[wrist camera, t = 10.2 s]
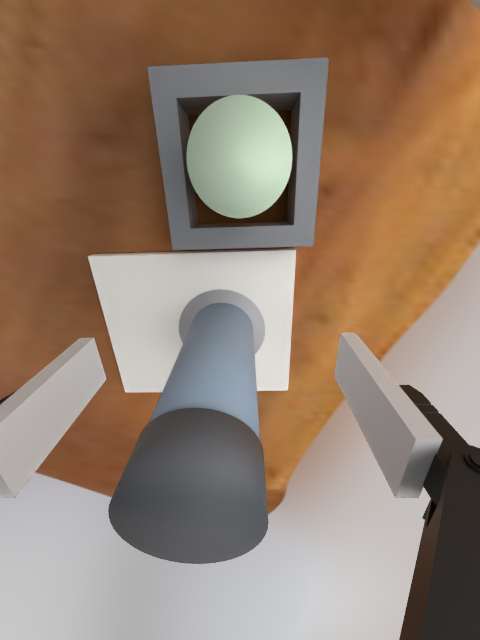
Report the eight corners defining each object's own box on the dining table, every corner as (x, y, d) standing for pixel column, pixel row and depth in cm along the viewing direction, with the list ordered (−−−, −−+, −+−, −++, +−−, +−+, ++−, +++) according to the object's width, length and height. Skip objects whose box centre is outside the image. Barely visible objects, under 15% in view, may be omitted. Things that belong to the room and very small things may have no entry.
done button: (193, 118, 11) (179, 97, 9) (284, 114, 11) (295, 91, 9) (202, 216, 13) (192, 219, 11) (281, 213, 13) (289, 216, 11)
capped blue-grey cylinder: (193, 359, 18) (128, 563, 8) (186, 302, 16) (88, 471, 6) (255, 358, 18) (267, 564, 8) (254, 300, 16) (268, 469, 6)
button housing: (164, 90, 12) (147, 66, 10) (313, 82, 12) (329, 57, 10) (183, 242, 15) (172, 250, 13) (303, 239, 15) (313, 246, 13)
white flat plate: (93, 254, 16) (86, 256, 15) (294, 248, 15) (296, 250, 15) (128, 387, 20) (124, 393, 19) (286, 385, 19) (288, 391, 19)
